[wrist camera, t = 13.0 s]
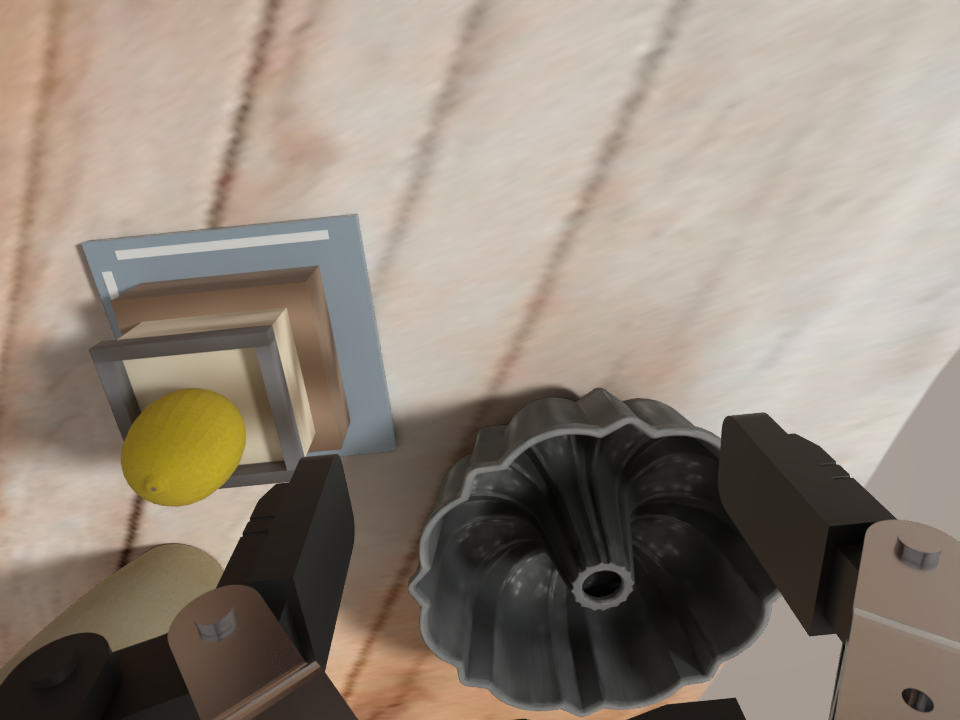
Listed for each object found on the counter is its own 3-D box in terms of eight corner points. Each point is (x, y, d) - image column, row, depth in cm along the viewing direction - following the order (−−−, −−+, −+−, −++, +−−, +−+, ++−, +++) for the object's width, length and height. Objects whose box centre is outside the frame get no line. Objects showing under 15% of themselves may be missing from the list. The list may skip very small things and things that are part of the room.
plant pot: (73, 609, 52) (-75, 806, 38) (118, 480, 47) (-33, 651, 33) (239, 661, 55) (163, 861, 41) (297, 545, 50) (234, 727, 36)
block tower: (141, 283, 40) (58, 331, 32) (319, 265, 40) (283, 308, 32) (192, 436, 45) (131, 514, 37) (350, 420, 45) (326, 494, 37)
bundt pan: (757, 568, 54) (820, 664, 44) (481, 649, 56) (486, 756, 47) (699, 305, 43) (765, 360, 34) (365, 420, 46) (343, 499, 37)
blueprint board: (88, 240, 40) (80, 243, 39) (357, 213, 40) (355, 216, 39) (168, 468, 47) (163, 474, 46) (397, 445, 47) (396, 451, 46)
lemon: (206, 462, 37) (144, 552, 29) (146, 391, 35) (64, 468, 27) (281, 425, 36) (237, 508, 29) (225, 349, 34) (162, 418, 26)
